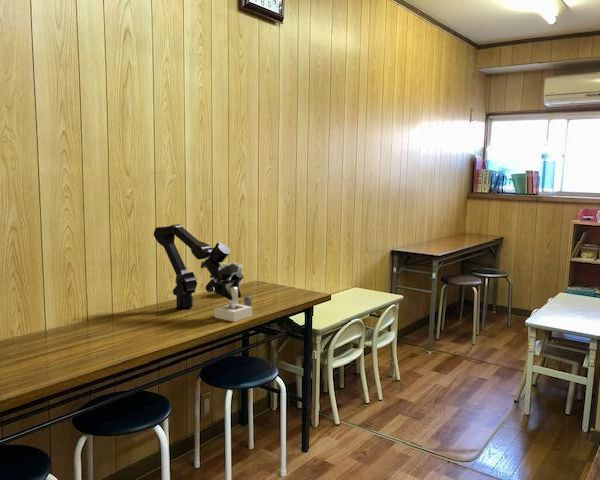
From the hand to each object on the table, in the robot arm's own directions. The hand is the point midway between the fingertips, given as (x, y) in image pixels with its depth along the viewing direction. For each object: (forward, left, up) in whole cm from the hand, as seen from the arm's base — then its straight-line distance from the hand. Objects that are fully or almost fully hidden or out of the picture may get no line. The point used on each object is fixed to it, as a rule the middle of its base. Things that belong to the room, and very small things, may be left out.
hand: (236, 298), depth 220 cm
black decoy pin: (+3, +12, -8) cm, 15 cm away
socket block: (-1, +1, -8) cm, 8 cm away
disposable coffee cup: (-10, +47, -8) cm, 49 cm away
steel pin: (-1, +1, -8) cm, 8 cm away
